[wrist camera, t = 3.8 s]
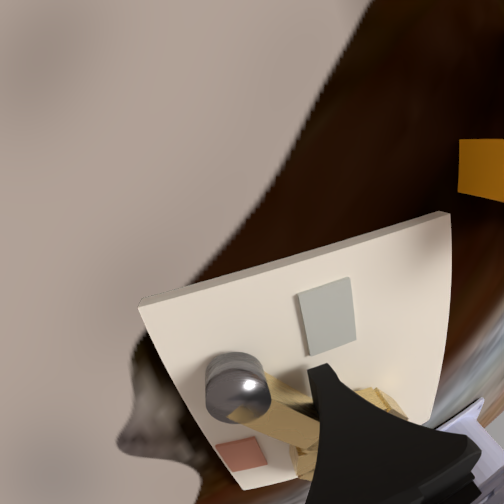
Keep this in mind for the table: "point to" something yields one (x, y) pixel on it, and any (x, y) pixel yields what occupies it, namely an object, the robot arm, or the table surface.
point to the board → (314, 329)
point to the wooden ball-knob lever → (273, 406)
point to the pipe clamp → (482, 168)
